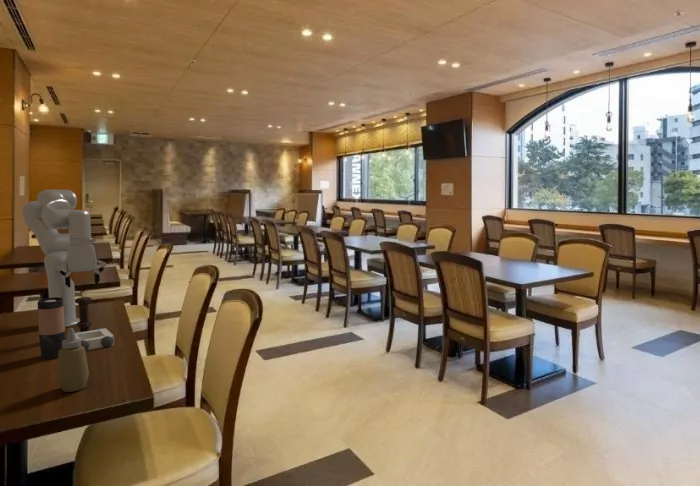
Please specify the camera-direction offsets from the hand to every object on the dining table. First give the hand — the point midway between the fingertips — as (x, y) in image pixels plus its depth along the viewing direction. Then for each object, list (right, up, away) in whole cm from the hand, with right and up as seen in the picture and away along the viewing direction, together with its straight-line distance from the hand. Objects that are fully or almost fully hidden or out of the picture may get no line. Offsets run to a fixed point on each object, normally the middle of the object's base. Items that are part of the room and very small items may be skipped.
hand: (82, 285), depth 184 cm
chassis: (+8, -21, -9) cm, 24 cm away
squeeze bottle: (+25, -26, -48) cm, 60 cm away
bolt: (0, -20, +2) cm, 20 cm away
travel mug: (+2, -23, -21) cm, 31 cm away
